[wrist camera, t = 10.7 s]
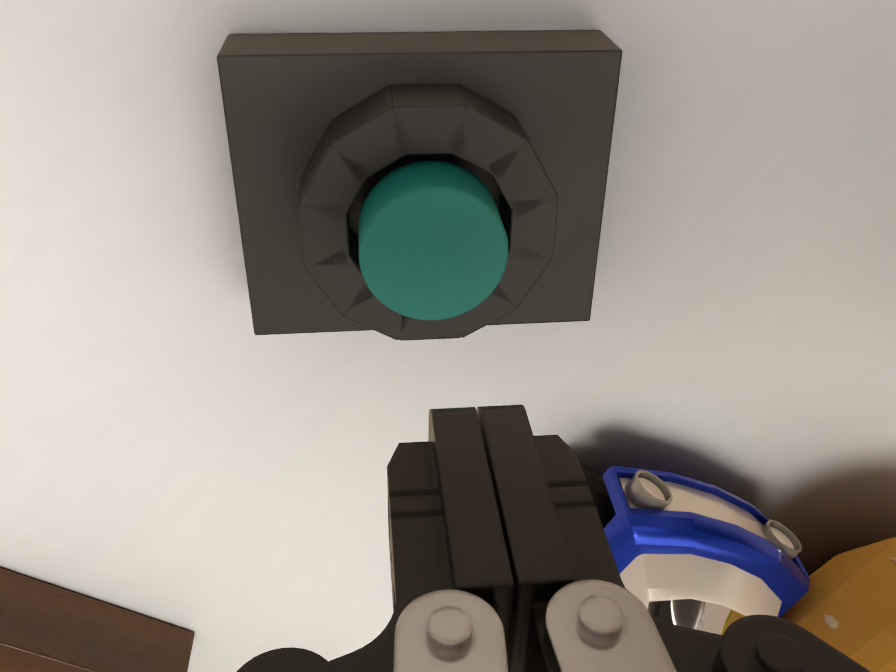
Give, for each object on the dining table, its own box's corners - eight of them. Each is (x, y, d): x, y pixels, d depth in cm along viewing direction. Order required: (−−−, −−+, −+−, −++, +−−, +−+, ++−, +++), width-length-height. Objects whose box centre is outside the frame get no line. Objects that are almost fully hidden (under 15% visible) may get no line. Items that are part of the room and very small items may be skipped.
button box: (601, 29, 23) (644, 69, 19) (574, 286, 27) (605, 354, 24) (227, 33, 22) (204, 76, 18) (261, 298, 26) (248, 371, 23)
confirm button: (501, 157, 21) (512, 184, 19) (495, 284, 23) (505, 318, 21) (354, 161, 20) (355, 189, 19) (361, 289, 22) (362, 324, 21)
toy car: (788, 487, 33) (927, 707, 25) (615, 667, 38) (684, 896, 30) (596, 410, 30) (686, 633, 22) (437, 617, 35) (462, 857, 27)
